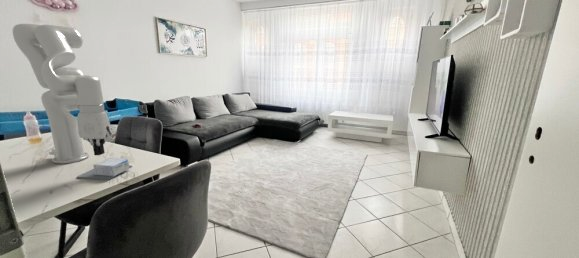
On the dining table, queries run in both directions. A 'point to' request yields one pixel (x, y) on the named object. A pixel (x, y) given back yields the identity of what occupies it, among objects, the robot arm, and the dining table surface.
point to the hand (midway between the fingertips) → (99, 154)
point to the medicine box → (111, 167)
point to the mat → (92, 175)
